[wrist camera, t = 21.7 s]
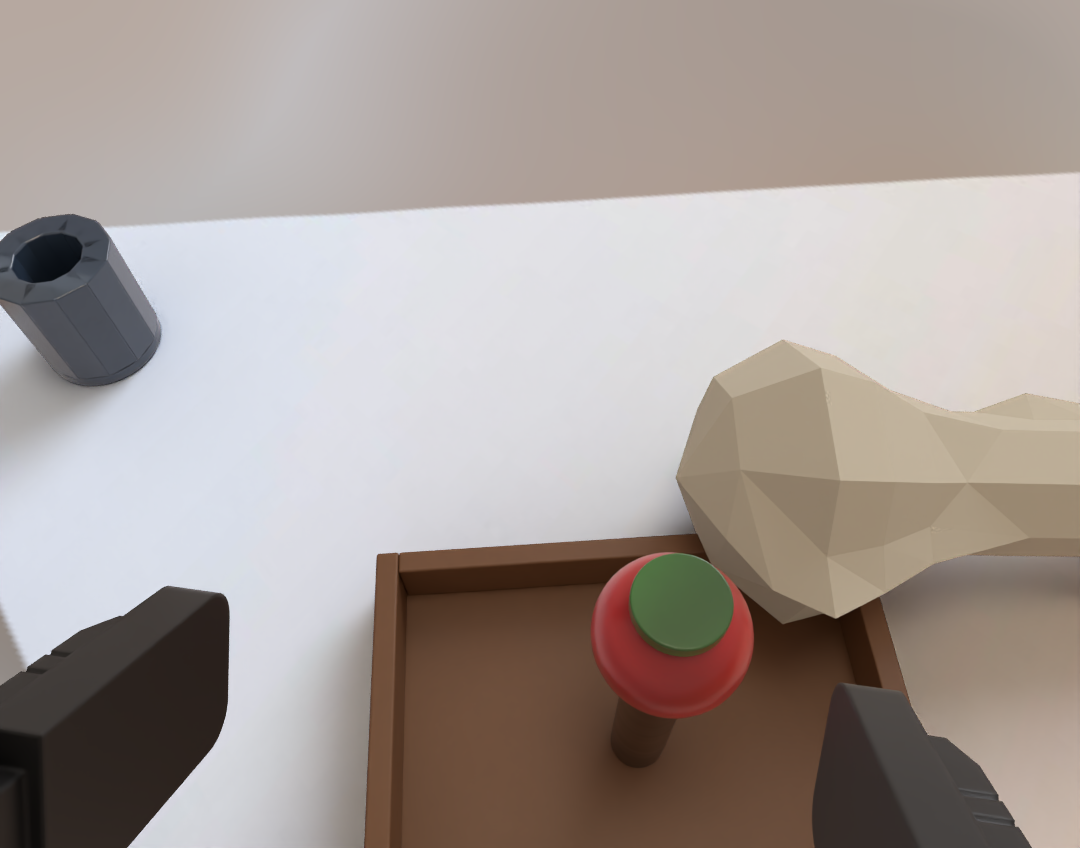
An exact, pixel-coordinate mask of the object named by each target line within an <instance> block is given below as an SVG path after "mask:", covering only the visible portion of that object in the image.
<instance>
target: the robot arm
mask: <svg viewBox="0 0 1080 848" xmlns="http://www.w3.org/2000/svg"><path fill="white" fill-rule="evenodd" d="M229 617H230V616H229V605H228V601H227V599H226V597H225V596H224V595H223V594H221V593H215V592H208V591H201V590H194V589H187V588H180V587H173V586H166V587H164V588H162V589H160V590H159V591H157V592H156V593H155V594H153V595H152V596H150V597H149V598H148V599H146V600H145V601H144V602H142V603H141V604H139V605H138V606H137V607H135V608H134V609H132V610H131V611H130V612H128V613H127V614H125V615H124V616H118V617H115V618H113V619H110V620H107V621H105V622H102V623H99V624H97V625H94V626H91V627H89V628H86V629H83V630H81V631H79V632H78V633H76V634H75V635H73V636H72V637H70V638H69V639H68V640H66V641H65V642H63V643H62V644H60V645H59V646H57V647H56V648H54V649H53V650H52V651H51V654H50V655H44V656H43V657H41V658H40V659H38V660H37V661H36V662H34V663H33V664H31V665H30V666H28V667H27V671H26V672H20V673H18V674H17V675H15V676H14V677H13V678H11V679H9V680H8V681H7V682H5V683H4V684H2V685H1V686H0V848H127V847H128V846H129V845H130V844H131V843H132V841H133V840H134V839H135V838H136V837H137V836H138V834H139V833H140V832H141V831H142V830H143V829H144V827H145V826H146V825H147V824H148V823H149V821H150V820H151V819H152V818H153V817H154V816H155V814H156V813H157V812H158V811H159V810H160V809H161V807H162V806H163V805H164V804H165V803H166V802H167V800H168V799H169V798H170V797H171V796H172V795H173V793H174V792H175V791H176V790H177V789H178V788H179V786H180V785H181V784H182V783H183V782H184V780H185V779H186V778H187V777H188V776H189V775H190V773H191V772H192V771H193V770H194V769H195V768H196V766H197V765H198V764H199V763H200V762H201V761H202V759H203V758H204V757H205V756H206V755H207V754H208V752H209V751H210V750H211V749H212V747H213V746H214V744H215V742H216V741H217V739H218V737H219V734H220V732H221V729H222V726H223V723H224V720H225V716H226V711H227V704H228V669H229ZM998 796H999V795H998V794H997V792H996V791H995V789H994V788H993V786H992V785H991V783H990V781H989V780H988V778H987V777H986V775H985V774H984V772H983V770H982V769H981V767H980V766H979V765H978V764H977V763H975V762H974V761H973V760H972V759H971V758H969V757H968V756H967V755H966V754H965V753H963V752H962V751H961V750H960V749H958V748H957V747H956V746H955V745H954V744H952V743H951V742H950V741H949V740H947V739H946V738H942V737H935V736H929V735H927V733H926V731H925V730H924V728H923V726H922V724H921V723H920V721H919V719H918V718H917V716H916V714H915V712H914V711H913V709H912V707H911V705H910V704H909V702H908V700H907V698H906V697H905V695H904V694H903V693H902V692H901V691H897V690H890V689H883V688H876V687H869V686H862V685H855V684H848V683H838V684H837V685H836V687H835V689H834V691H833V694H832V697H831V702H830V707H829V712H828V718H827V723H826V729H825V734H824V740H823V745H822V750H821V756H820V761H819V767H818V772H817V778H816V783H815V788H814V795H813V805H812V831H813V840H814V845H815V848H1032V847H1031V846H1030V844H1029V842H1028V841H1027V839H1026V838H1025V836H1024V835H1023V833H1022V831H1021V830H1020V828H1019V827H1015V824H1014V822H1015V820H1014V819H1013V817H1012V816H1011V814H1010V813H1009V811H1008V810H1007V808H1006V806H1005V805H1004V803H1003V802H1002V801H999V800H998Z"/></svg>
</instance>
